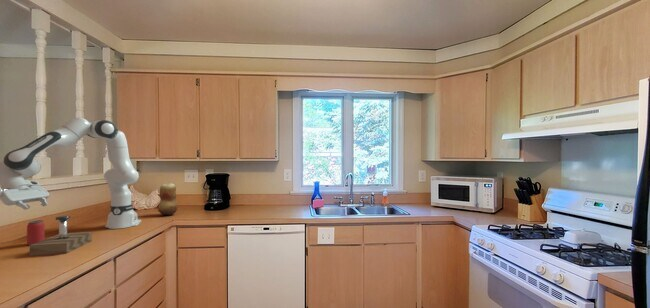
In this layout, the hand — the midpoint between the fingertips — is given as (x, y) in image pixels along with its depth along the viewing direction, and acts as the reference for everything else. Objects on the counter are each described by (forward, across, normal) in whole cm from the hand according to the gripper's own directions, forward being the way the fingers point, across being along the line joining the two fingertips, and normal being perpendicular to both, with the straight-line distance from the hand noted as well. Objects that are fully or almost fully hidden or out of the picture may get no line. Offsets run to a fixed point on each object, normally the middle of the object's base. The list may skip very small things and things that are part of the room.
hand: (36, 206), depth 142 cm
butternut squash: (+33, +77, -4) cm, 84 cm away
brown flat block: (+24, 0, +6) cm, 25 cm away
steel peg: (+24, 0, +6) cm, 25 cm away
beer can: (+10, +8, +21) cm, 24 cm away
